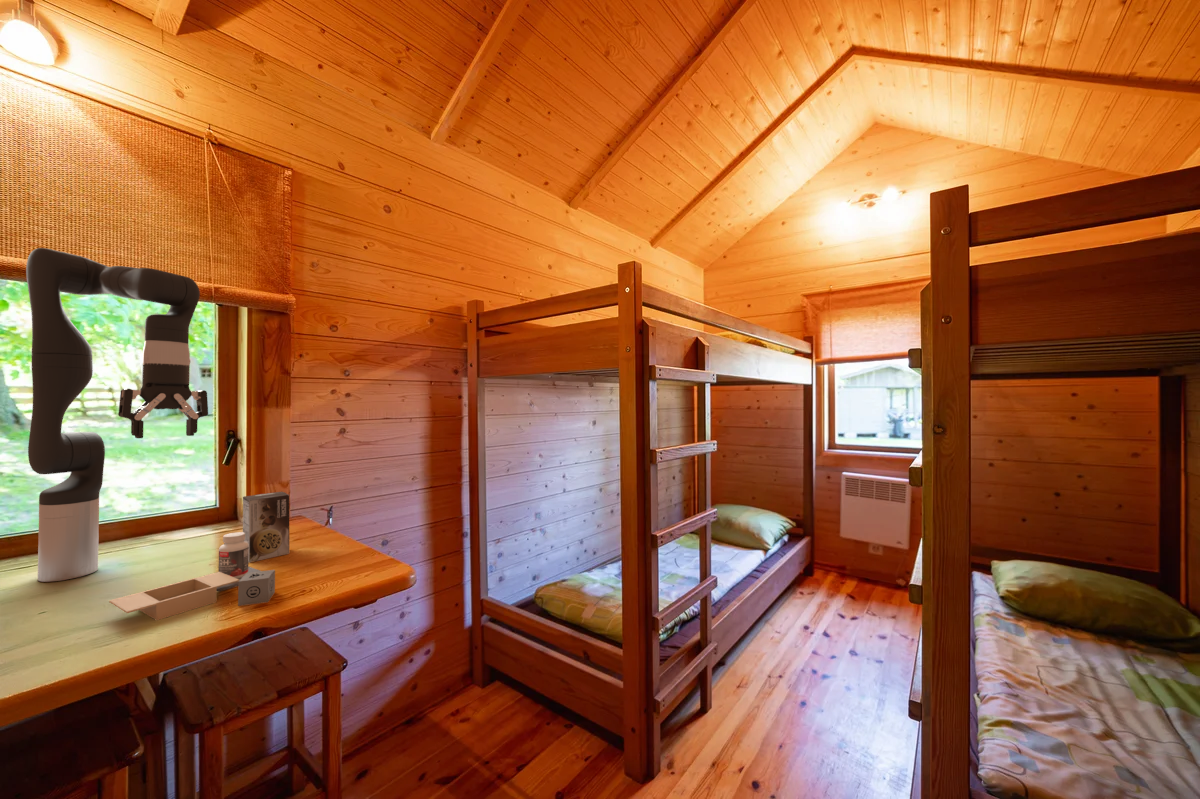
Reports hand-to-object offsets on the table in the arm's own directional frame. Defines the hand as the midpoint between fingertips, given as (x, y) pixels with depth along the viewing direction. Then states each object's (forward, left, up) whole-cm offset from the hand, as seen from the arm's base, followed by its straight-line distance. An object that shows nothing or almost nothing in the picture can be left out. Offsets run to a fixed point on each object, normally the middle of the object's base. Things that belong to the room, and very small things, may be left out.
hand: (165, 436), depth 101 cm
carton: (+14, -2, -33) cm, 36 cm away
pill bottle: (+8, +10, -33) cm, 35 cm away
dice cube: (+24, +8, -33) cm, 42 cm away
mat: (+8, +10, -33) cm, 35 cm away
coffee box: (-4, +22, -33) cm, 40 cm away
